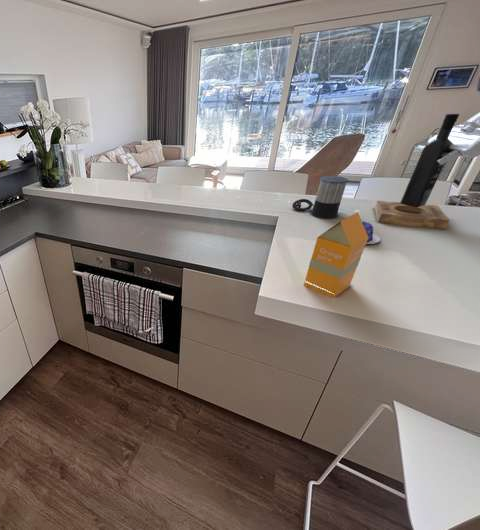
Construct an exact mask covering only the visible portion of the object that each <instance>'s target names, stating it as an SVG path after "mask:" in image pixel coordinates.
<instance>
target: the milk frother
mask: <svg viewBox="0 0 480 530" xmlns="http://www.w3.org/2000/svg"><path fill="white" fill-rule="evenodd" d="M319 180H320V181H319V185H318V188H317V193H316V197H315V200H314V203H313V202H312V201H311V200H310V199H306V198H300V199H296V200H295V201H294V202H293V203H292V209H294V210H296V211H301V212H305V211H308V210H310V209H311V208H312V210H311V212H310V214H311V215H312V216H314V217H316V218H321V219H334V218H337V217H338V213H339V209H340V206H341V201H342V199H343V196H344V194H345V193H344V192H345V189H346V186H347V183H348V182H349V179H348V178H347V177H344V176H341V175H339V176H338V175H327V176H326V175H325V176H321V177H319ZM302 203H306V204H307V207H302Z"/></svg>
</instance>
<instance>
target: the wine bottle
mask: <svg viewBox="0 0 480 530" xmlns="http://www.w3.org/2000/svg"><path fill="white" fill-rule="evenodd" d="M459 116H460V114H459V113H447V114H445V117H444V119H443V121H442V124H441V126H440V129H439V131H438V132H437V134H438V135H437V134H436V135H437V137H436V139H434V140H432V141H430V142H429V143H428V144H427V143H426V144H425V146H424V147H423V148H422V151H421V153H420V155H419V158H418V160H417V162H416V165H415V167H414V169H413V172H412V174H411V176H410V179H409V181H408V183H407V186H406V187H405V190H404V193H403V195H402V197H401V200H400V201H399V202H400V203H401V204H404V205H408V206H412V207H419V206H423V205H425V204H426V205H427V202H428V200H429V198H430V196H431V194H432V191H433V189H434V187H435V186H436V183H437V181H438V179H439V177H440V175H441V172H442V170H443V169H444V166H445V164H446V162H445V163H444V164H442V165H441V164H438V163H437V162H436V160H437V159H439V158H440V157H444V156H446V155H449V154H451V153H450V152H451V149H449V146H450V145H451V143H452V142H451V141H450V140H449V139H448V137H449V135H450V133H451V131H452V128H453V126H455V124H456V122H457V121H458V118H459Z"/></svg>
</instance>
